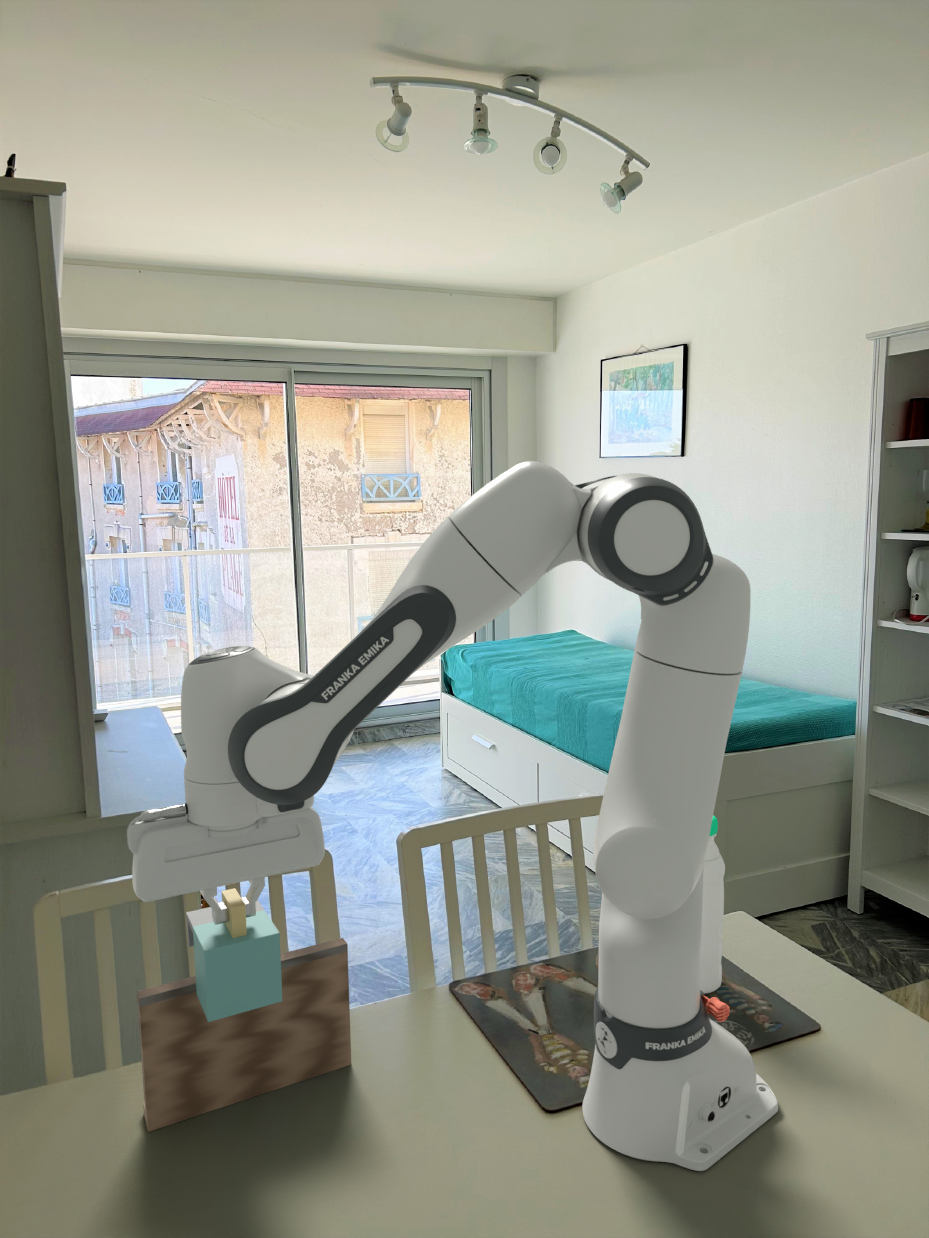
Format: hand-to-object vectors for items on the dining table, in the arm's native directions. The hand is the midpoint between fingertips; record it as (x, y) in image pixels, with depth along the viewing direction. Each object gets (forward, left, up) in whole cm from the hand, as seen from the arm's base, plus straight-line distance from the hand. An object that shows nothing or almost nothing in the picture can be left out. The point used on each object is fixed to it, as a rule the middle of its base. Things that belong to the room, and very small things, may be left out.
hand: (234, 918), depth 96 cm
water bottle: (-64, +4, -24) cm, 68 cm away
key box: (0, -1, -9) cm, 9 cm away
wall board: (-2, -4, -24) cm, 24 cm away
